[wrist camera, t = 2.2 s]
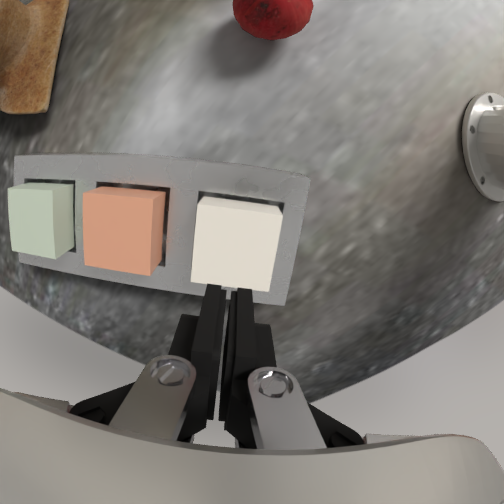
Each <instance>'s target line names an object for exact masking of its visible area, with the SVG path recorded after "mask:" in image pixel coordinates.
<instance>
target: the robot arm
mask: <svg viewBox="0 0 504 504" xmlns="http://www.w3.org/2000/svg"><path fill="white" fill-rule="evenodd" d="M462 145H463V154H464V159H465V163H466V167H467V170H468V173H469V175H470V177H471V180H472V182H473V183H474V185H475V186H476V188H477V190H478V191H479V192H480V193H481V194H482V195H483V196H485V197H486V198H488V199H491V200H494V201H498V202H503V201H504V97H502V96H500V95H499V94H496V93H493V92H488V93H481V94H478V95H477V96H475V97H474V98H473V99H472V100H471V102H470V103H469V105H468V107H467V109H466V112H465V115H464V119H463V127H462ZM221 287H222V285H215V284H208V283H207V287H206V291H205V295H204V299H203V303H202V307H201V311H200V316H193V315H186V314H182V315H181V318H180V321H179V324H178V327H177V330H176V333H175V336H174V339H173V342H172V345H171V348H170V351H169V354H168V355H163V356H159V357H156V358H154V359H152V360H150V361H149V363H148V364H147V365H146V366H145V368H144V369H143V371H142V372H141V374H140V376H139V377H138V379H137V381H136V382H134V383H131V384H128V385H125V386H123V387H120V388H117V389H115V390H112V391H109V392H106V393H103V394H101V395H98V396H95V397H92V398H89V399H86V400H83V401H81V402H79V403H77V404H76V405H74V406H73V405H69V402H68V401H62V400H55V399H49V398H44V397H38V396H33V395H28V394H24V393H19V392H11V391H8V390H5V389H1V388H0V504H504V470H503V469H502V467H501V465H500V464H499V462H498V461H497V459H496V458H495V456H494V455H493V454H492V452H491V451H490V450H489V449H488V447H487V446H486V445H485V444H484V443H482V442H481V441H479V440H478V439H476V438H473V437H469V436H464V435H455V434H434V435H427V436H401V435H379V434H366V435H365V436H364V437H361V436H360V435H359V434H358V433H357V432H355V431H354V430H352V429H351V428H349V427H347V426H346V425H344V424H342V423H340V422H339V421H337V420H335V419H334V418H332V417H330V416H329V415H327V414H325V413H324V412H322V411H320V410H319V409H317V408H316V407H314V406H312V405H311V404H309V403H308V402H306V399H305V397H304V395H303V392H302V390H301V388H300V386H299V383H298V381H297V380H296V378H295V377H294V376H293V375H292V374H291V373H289V372H287V371H285V370H283V369H280V368H277V366H276V360H275V353H274V347H273V340H272V333H271V327H270V325H269V324H259V323H254V308H253V294H252V289H247V288H239V287H238V288H237V291H231V297H230V305H229V312H228V320H227V328H226V336H225V343H224V352H223V364H222V377H221V391H220V405H219V421H225V424H224V430H227V431H228V432H229V433H230V434H232V435H233V436H234V437H235V447H236V448H229V447H218V446H208V445H200V444H193V441H194V434H195V433H197V432H199V431H201V430H202V429H204V428H206V422H207V419H208V420H213V418H214V408H215V399H216V390H217V381H218V373H219V364H220V355H221V345H222V334H223V324H224V314H225V303H226V294H227V290H224V289H221Z"/></svg>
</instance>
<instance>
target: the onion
mask: <svg viewBox="0 0 504 504" xmlns="http://www.w3.org/2000/svg"><path fill="white" fill-rule="evenodd" d="M312 10H313V2H312V0H233V11H234V16H235V18H236V20H237V21H238V23H239V24H240V26H241V27H242V29H243V30H245V31H246V32H248V33H250V34H251V35H253V36H255V37H257V38H263V39H267V40H277V39H283V38H287V37H289V36H292V35H294V34H296V33H298V32H300V31H301V30H302V29H303V28H304V27H305V25H306V24H307V23H308V22H309V20H310V16H311V13H312Z"/></svg>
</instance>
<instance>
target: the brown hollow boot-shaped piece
mask: <svg viewBox="0 0 504 504" xmlns="http://www.w3.org/2000/svg"><path fill="white" fill-rule="evenodd" d="M68 6H69V0H33V1H32V2H30V3H29V4H28V5H26V6H25V5H24V4H23V3H21V2H20V1H19V0H0V110H2V111H3V112H6V113H7V114H38V113H45V112H46V111H47V110H48V107H49V101H50V96H51V90H52V84H53V78H54V73H55V67H56V62H57V57H58V51H59V47H60V42H61V38H62V33H63V28H64V24H65V19H66V14H67V10H68Z"/></svg>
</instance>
